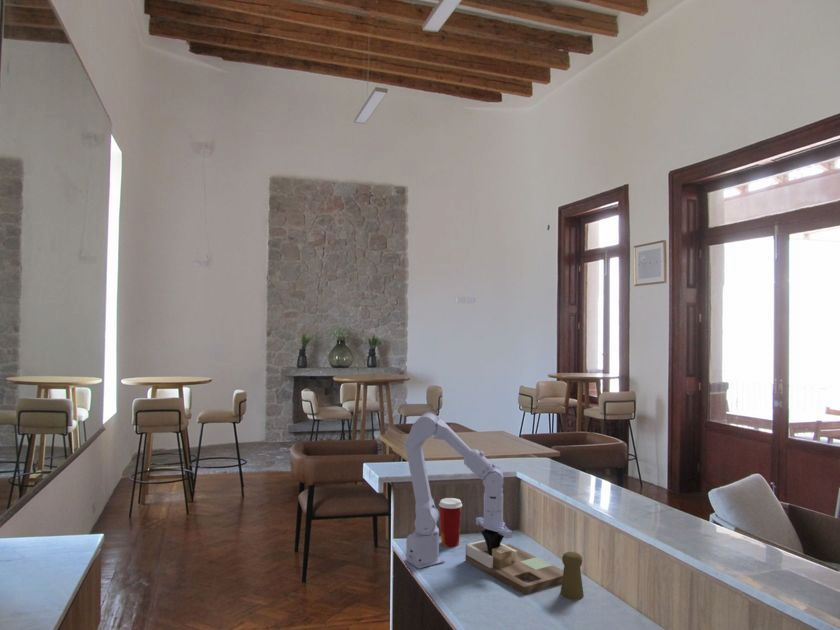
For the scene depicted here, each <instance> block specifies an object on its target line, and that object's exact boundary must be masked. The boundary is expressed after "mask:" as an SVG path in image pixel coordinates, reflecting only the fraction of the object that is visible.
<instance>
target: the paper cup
mask: <svg viewBox="0 0 840 630" xmlns="http://www.w3.org/2000/svg"><path fill="white" fill-rule="evenodd" d="M438 506H439V519H440V537H441V545H442V546H444V547H446V548H455V547H458V546H459V545H460V534H461V520H462V519H461V518H462V517H461V516H462V507H463V503H462V501H461V499H459V498H453V497H445V498H442V499H440V501H439V503H438Z"/></svg>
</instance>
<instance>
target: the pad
mask: <svg viewBox="0 0 840 630" xmlns="http://www.w3.org/2000/svg"><path fill="white" fill-rule="evenodd" d="M520 562H522V563H524V564H526V565H528V566H530V567H532V568H533V569H535V570H537V569H540V568H544V567H548V566H551V565H552V564H551V563H549V562H547V561H545V560H543V559H541V558H539V557H537V556H535V558H531V559H527V560H524V561H520Z"/></svg>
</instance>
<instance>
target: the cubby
mask: <svg viewBox="0 0 840 630" xmlns="http://www.w3.org/2000/svg"><path fill="white" fill-rule="evenodd" d="M506 545H507V544H504V543H502V542H501V543H500V546H499V547H502V546H503V547H505V548H507V549H509V550H511V551H512V561H514V562H516V561H517V551H516V550H514V549H512V548H510V547H508V546H506ZM484 551H488V548H487V544H486V541H485V539H483V540H480V541H475V542H474V541H473V542H470V543H466V544H465V556H466V555H468V556H469V557H471V558H473V559H475V560H477V561H478V562H480V563H482V564H484V565H485V566H487V567H489V568H493V557H492V556H490V555H488V554H487V553H485V552H484Z"/></svg>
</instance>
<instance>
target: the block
mask: <svg viewBox="0 0 840 630" xmlns="http://www.w3.org/2000/svg"><path fill="white" fill-rule="evenodd" d="M492 557H493V563H494V564H496V565H498V566H499V567H503V566H507V565H511V564H512V551H511V550H509V549H507V548H505V547H503V546H502V547H497V548H493V549H492Z"/></svg>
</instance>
